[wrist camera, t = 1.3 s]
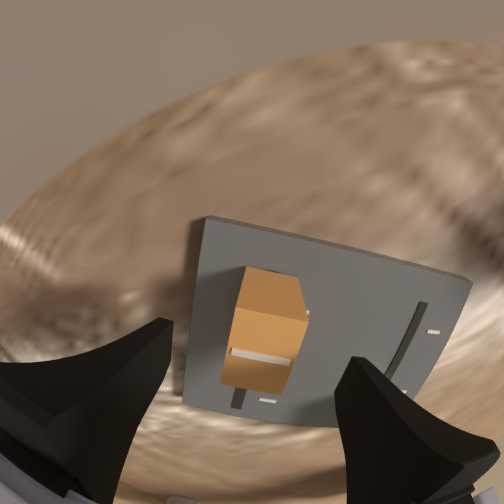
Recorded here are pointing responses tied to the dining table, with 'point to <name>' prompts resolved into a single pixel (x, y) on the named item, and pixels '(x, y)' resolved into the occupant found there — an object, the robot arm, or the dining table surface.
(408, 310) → the console
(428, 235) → the dining table surface
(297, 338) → the orange fader
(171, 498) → the house plant
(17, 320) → the dining table surface
